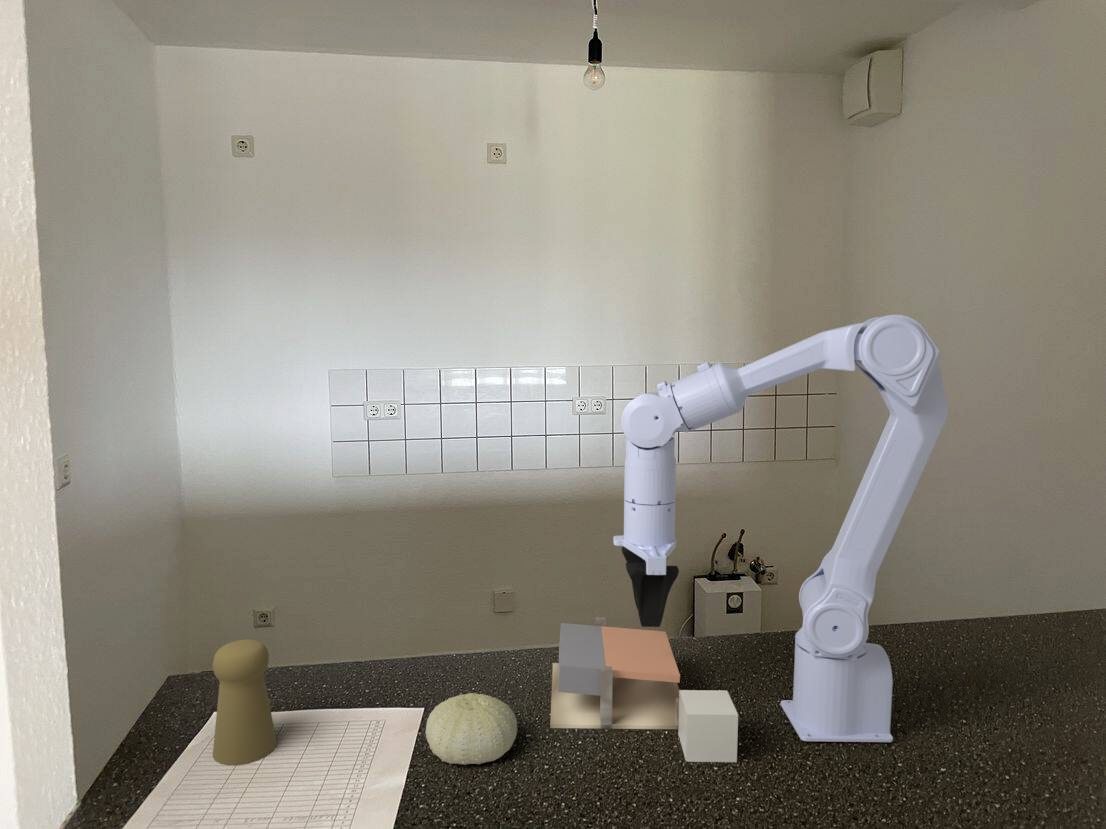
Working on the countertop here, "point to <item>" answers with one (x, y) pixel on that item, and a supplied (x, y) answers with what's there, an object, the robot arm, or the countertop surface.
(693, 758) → the off-white sharp-edged cube
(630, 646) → the trapdoor
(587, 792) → the countertop surface
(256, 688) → the cork
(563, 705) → the frame
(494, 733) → the sea urchin shell
